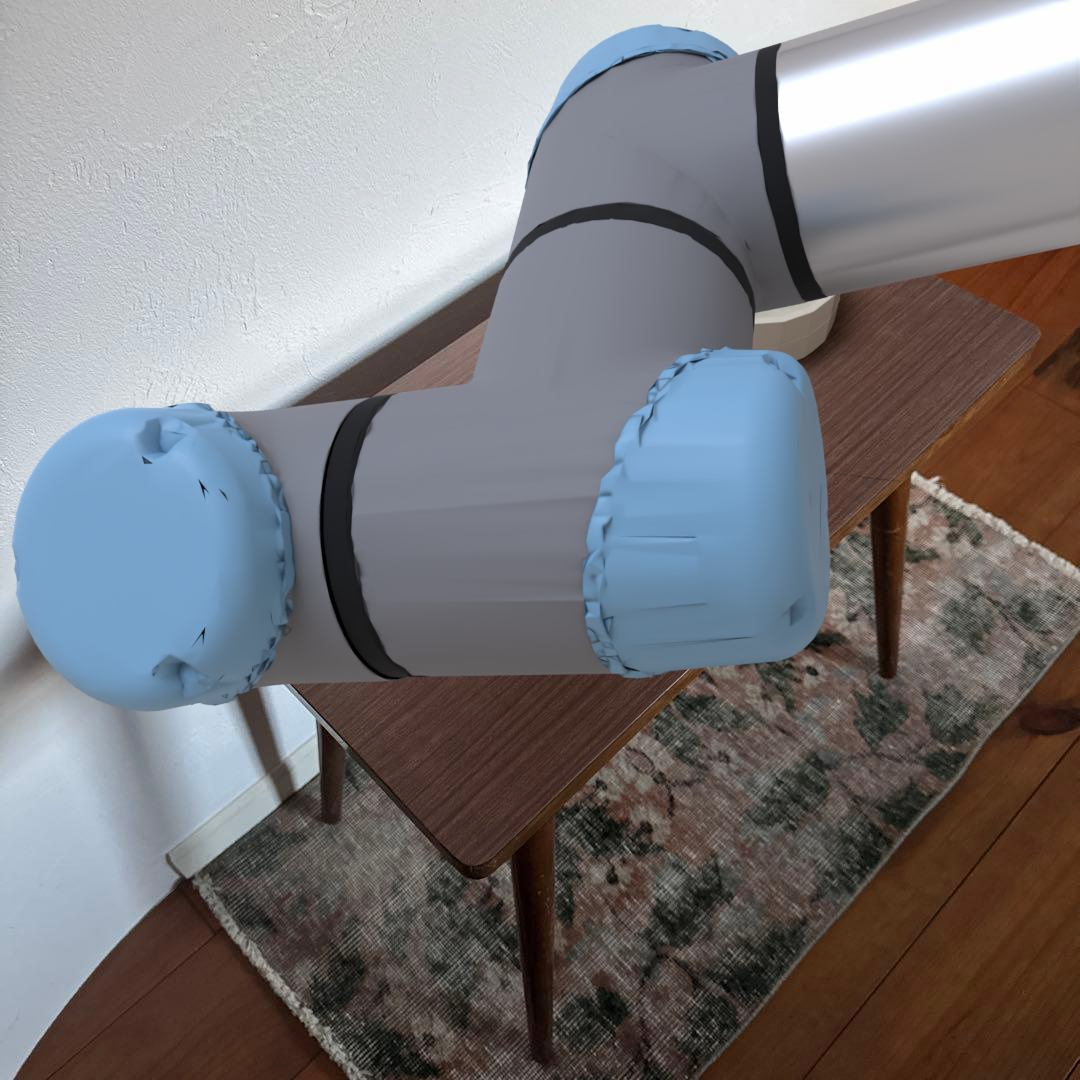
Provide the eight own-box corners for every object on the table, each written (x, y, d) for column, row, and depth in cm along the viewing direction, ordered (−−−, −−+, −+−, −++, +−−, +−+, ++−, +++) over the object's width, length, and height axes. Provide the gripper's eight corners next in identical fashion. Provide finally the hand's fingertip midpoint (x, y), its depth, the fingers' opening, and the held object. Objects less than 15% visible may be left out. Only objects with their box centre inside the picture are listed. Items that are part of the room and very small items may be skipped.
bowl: (855, 281, 99) (867, 229, 95) (799, 397, 90) (809, 345, 86) (690, 237, 103) (694, 185, 99) (622, 344, 95) (623, 292, 91)
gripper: (106, 517, 45) (363, 506, 65) (690, 767, 38) (777, 667, 58) (154, 334, 44) (400, 380, 64) (766, 555, 36) (828, 529, 56)
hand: (579, 516), depth 61 cm, fingers open, 13 cm apart
